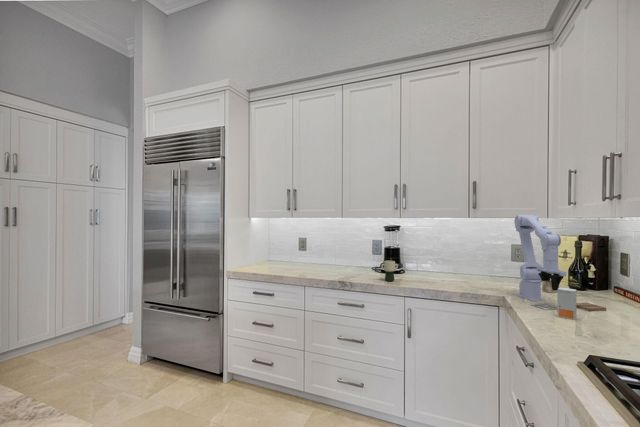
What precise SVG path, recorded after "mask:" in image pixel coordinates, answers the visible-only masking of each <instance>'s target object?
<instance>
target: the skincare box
mask: <svg viewBox="0 0 640 427" xmlns="http://www.w3.org/2000/svg"><path fill="white" fill-rule="evenodd" d="M556 294H557V295H556V296H557V298H556V299H557V300H556V301H557V306H556V307H557V310H556V311H557V314H556V315H557V316H556V317H557V318H563V319H567V320H568V319H569V320H576V319H577V308H576V303H577V289H574V288H567V287H566V288H565V287H559V288H558V293H556Z"/></svg>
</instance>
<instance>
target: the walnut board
mask: <svg viewBox="0 0 640 427" xmlns="http://www.w3.org/2000/svg"><path fill="white" fill-rule="evenodd" d="M576 309H579V310H583V311H586V312H591V313H592V312H606V311H607V307H605V306H601V305H598V304H593V303H590V302H576Z"/></svg>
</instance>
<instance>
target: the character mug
mask: <svg viewBox="0 0 640 427" xmlns="http://www.w3.org/2000/svg"><path fill="white" fill-rule="evenodd" d="M380 268H381V269H382V270H383V271H385V275H384V280H385V281H387V282H388V281H389V282H392V281H395V273H394V272H395V271H396V270H398V269H399V264H398V263H396V261H395V260H383V263H381V267H380Z"/></svg>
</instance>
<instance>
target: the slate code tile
mask: <svg viewBox="0 0 640 427" xmlns="http://www.w3.org/2000/svg"><path fill="white" fill-rule="evenodd" d="M530 306H531V307H535V308H537V309H540V310H543V311H557V306H554V305H550V304H547V303H546V304H530Z"/></svg>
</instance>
